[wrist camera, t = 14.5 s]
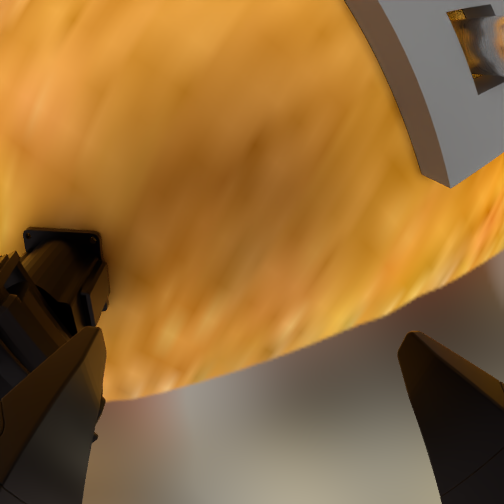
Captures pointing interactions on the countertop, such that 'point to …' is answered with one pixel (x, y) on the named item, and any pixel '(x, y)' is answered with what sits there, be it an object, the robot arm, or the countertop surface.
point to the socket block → (437, 83)
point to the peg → (482, 43)
